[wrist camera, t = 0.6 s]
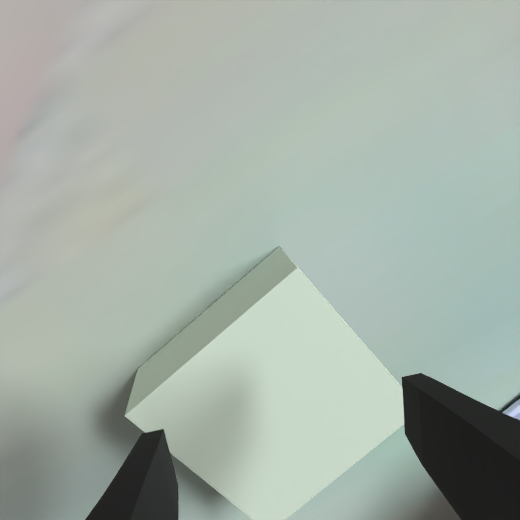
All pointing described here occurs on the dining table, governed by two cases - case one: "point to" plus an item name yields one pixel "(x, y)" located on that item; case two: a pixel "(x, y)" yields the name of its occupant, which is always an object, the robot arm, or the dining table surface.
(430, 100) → the dining table surface
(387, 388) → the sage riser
